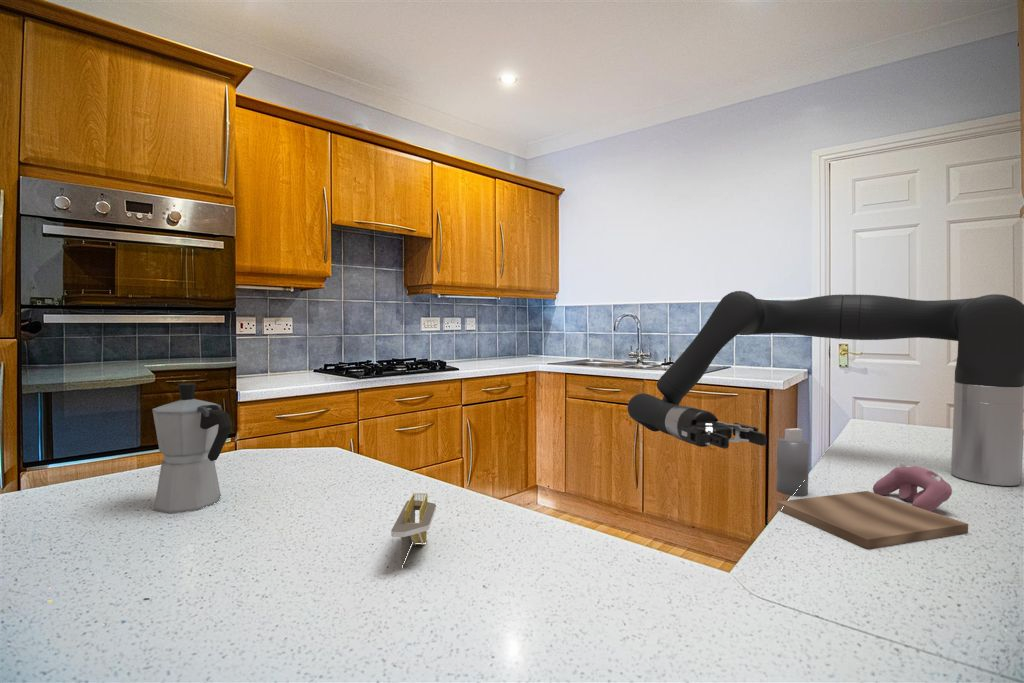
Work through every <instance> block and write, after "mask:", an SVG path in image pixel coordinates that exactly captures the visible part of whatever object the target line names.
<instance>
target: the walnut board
mask: <svg viewBox="0 0 1024 683" xmlns="http://www.w3.org/2000/svg"><path fill="white" fill-rule="evenodd" d="M788 500H789V501H788ZM776 502H777V505H776V510H778V511H780V510H781V509H782V507H783V506H784V507H783V509H782V511H780V512H782V513H785V514H786V515H789V516H792V517H793V518H795V519H798V520H800V521H802V522H805V523H806V524H809V525H811V526H813V527H816V528H818V529H821V530H823V531H825V532H828V533H829V534H832V535H834V536H836V537H839V538H840V539H843V540H846V541H848V542H850V543H852V544H854V545H857V546H859V547H861V548H864V549H866V550H870V549H876V548H877V549H878V548H883V547H889V546H895V545H900V544H907V543H914V542H920V541H926V540H931V539H932V540H933V539H938V538H945V537H949V536H955V535H962V534H963V535H964V534H969V523H967V522H964V521H961V520H958V519H956V518H952V517H948V516H946V515H942V514H939V513H936V512H933V511H928V510H924V509H921V508H918V507H915V506H912V504H909V503H906V502H904V501H900V500H896V499H894V498H890V497H888V496H886V495H879V494H876V493H874V492H872V491H869V490H865V491H855V492H847V493H838V494H831V495H823V496H822V495H820V496H814V497H813V496H811V497H805V498H804V497H803V498H796V499H787V500H780V501H779V500H778V501H776Z"/></svg>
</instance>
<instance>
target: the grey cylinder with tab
mask: <svg viewBox="0 0 1024 683" xmlns="http://www.w3.org/2000/svg"><path fill="white" fill-rule="evenodd" d="M776 449H777V451H776V452H777V453H776V455H777V456H776V483H775V485H776V487H775V490H776V492H778V493H781V494H783V495H786V496H787V495H788V496H792V495H793V494H794V493H795V492H796V493H795V494H794V496H792V497H807V496H808V495H809V466H810V442H809V441H807V440H804V439H803V429H802V428H798V427H797V428H785V429H784V437H783V438H782V437H781V438H778V439H777V447H776ZM804 480H805V481H804ZM803 481H804V482H803ZM800 485H801V486H800ZM799 486H800V487H799ZM797 489H798V490H797ZM796 490H797V491H796Z"/></svg>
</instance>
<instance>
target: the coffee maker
mask: <svg viewBox="0 0 1024 683" xmlns="http://www.w3.org/2000/svg"><path fill="white" fill-rule="evenodd" d="M177 387H178V390H179V396H180V399H178V400H176V401H173V402H172V401H171V402H170V403H166V404H163V405H160V406H157V407H155V408H152V409H151V410H152V415H153V422H154V426H155V432H156V438H157V444H158V450H159V452H160V453H161V454H163V460H162V462H161V464H160V471H159V476H158V482H157V489H156V495H155V499H154V500H155V501H154V505H153V506H154V507H153V511H156V512H161V513H165V514H169V515H170V514H171V515H172V514H179V513H178V512H180V513H187V512H186V511H189V512H195V511H194V510H197V511H199V510H198V509H200V510H202V509H201V508H203V507H206V506H208V507H210V506H209V505H211V506H213V505H212V504H214V503H217V502H218V501H219V502H220V500H219V499H221V497H222V494H221V489H220V483H219V478H218V474H217V468H216V464H215V463H216V462H215V461H217V460H218V458H219V457H220V454H221V452H222V450H223V448H224V446H225V443H226V441H227V439H228V437H229V435H230V433H231V431H232V428H233V423H232V421H231V418H230V415H229V413H228V412H227V411H225V410H223V408H222V406H221V405H220V404H217V403H214V402H210V401H206V400H201V399H197V398H195V393H196V387H197V383H193V382H191V383H189V382H186V383H177ZM220 496H221V497H220ZM219 502H218V503H219ZM218 503H217V504H218ZM214 505H215V504H214ZM206 508H207V507H206ZM203 509H204V508H203Z"/></svg>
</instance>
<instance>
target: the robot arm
mask: <svg viewBox="0 0 1024 683" xmlns="http://www.w3.org/2000/svg"><path fill="white" fill-rule="evenodd" d="M767 334H769V335H771V334H772V335H774V334H791V335H798V336H799V335H800V336H806V337H807V336H808V337H815V338H825V339H834V340H835V339H836V340H852V341H854V340H855V341H882V340H883V341H884V340H885V341H886V340H887V341H888V340H901V339H912V338H913V339H916V338H920V339H925V338H926V339H936V340H944V341H953V342H954V341H955V342H957V355H956V363H955V369H954V384H953V385H954V388H953V415H952V416H953V418H952V435H951V436H952V440H951V442H952V443H951V457H950V458H951V460H950V461H951V462H950V474H951V475H952V476H955V477H957V478H958V479H962V480H966V481H971V482H974V483H979V484H986V485H993V486H1003V487H1005V486H1006V487H1009V486H1010V487H1011V486H1013V487H1014V486H1019V485H1020V484H1021V481H1022V478H1023V476H1022V473H1023V472H1022V471H1023V455H1024V454H1023V453H1024V429H1023V423H1024V303H1022V302H1021V301H1020V300H1019V299H1016V298H1015V297H1012V296H1011V295H1010V296H1009V295H1005V294H998V293H997V294H996V293H995V294H993V293H992V294H986V295H981V296H978V297H970V298H959V299H958V298H957V299H942V300H941V299H939V300H919V299H910V298H904V297H896V296H886V295H878V294H875V295H874V294H829V295H821V296H815V297H810V298H804V299H797V300H786V301H785V300H772V299H771V300H770V299H763V298H762V299H761V298H757V297H756V296H754V295H753V294H751V293H750V292H747V291H744V290H736V291H735V290H734V291H731V292H729V293H727V294H726V295H724V296H723V297H722V298H721V299H720V301H719V302H718V304H717V305H716V306H715V308H714V310H713V311H712V313H711V314H710V316H709V317H708V319H707V321H706V322H705V324H704V325H703V327H702V328H701V330H700V331H699V332H698V334H696V336H695V338H694V339H693V340H692V341H691V342H690V343H689V345H688V347H686V349H685V350H684V351H683V352H682V353H681V354H680V356H678V357H677V359H676V360H675V361H674V362H673V363H672V364H671V366H669V367H668V368H667V370H666V371H665V372H664V373H663V374H662V376H660V378H659V379H658V380H657V381H656V387H657V390H658V391H659V393H661V394H662V396H663V397H662V399H661V398H658V397H656V396H654V395H652V394H648V393H642V392H641V393H638V394H635V395H634V396H632V397H631V398H630V399H629V400H628V403H627V408H626V410H627V413H628V415H629V417H630V418H631V419H632V420H634V421H635V422H636V423H637V424H640V425H641V426H643V427H645V428H646V429H648V430H649V431H650V432H659V431H660V432H662V433H663V434H666V435H669V436H672V437H674V438H676V439H678V440H679V441H682V442H685V443H688V444H691V445H694V446H697V447H699V448H700V447H701V448H706V447H709V446H715V447H718V448H720V449H722V450H723V449H729V448H730V447H729V446H730V443H736V444H738V443H740V442H745V443H746V442H748V443H750V444H753V445H758V446H763V447H764V446H766V445H767V443H768V442H767V441H768V440H767V437H768V436H767V434H765V433H762V432H760V431H759V427H757V426H751V425H746V424H743V423H739V422H734V423H727V422H725V421H719V419H718V418H717V417H716V415H715V414H714V413H712V412H711V411H709V410H704V409H701V408H696V407H693V406H687V405H680V404H681V402H682V400H683V399H684V398H685V396H686V395H687V394H688V393H689V392H690V391H691V390H692V389H693V388H694V387H695V386H696V384H697V383H698V382H699V381H700V380H701V378H703V376H704V375H705V373H706V372H707V370H708V368H709V367H710V365H711V364H712V362H713V360H714V359H715V358H716V356H717V355H718V354H719V352H720V351H721V350H722V349H723V348H724V347H726V345H727V344H728V343H729V342H730V341H731V340H733V339H734V338H735V337H736V336H737V335H739V336H751V335H753V336H754V335H767ZM732 436H734V438H733V437H732ZM1020 480H1021V481H1020Z"/></svg>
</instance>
